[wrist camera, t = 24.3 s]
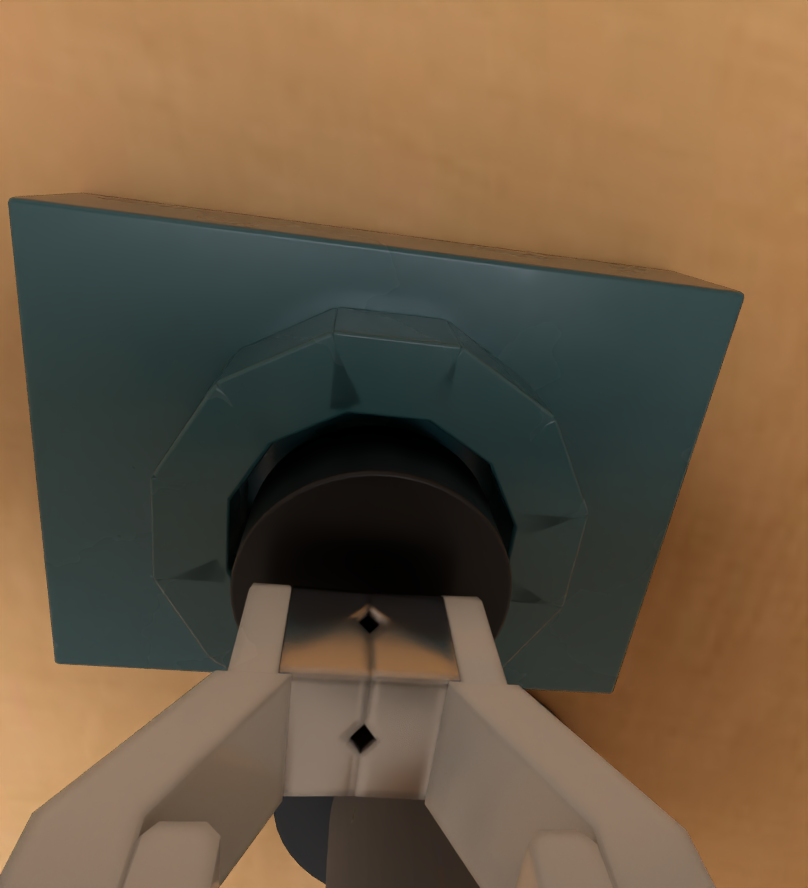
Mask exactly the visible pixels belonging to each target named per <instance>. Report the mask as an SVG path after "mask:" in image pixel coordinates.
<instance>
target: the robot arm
mask: <svg viewBox="0 0 808 888" xmlns="http://www.w3.org/2000/svg"><path fill="white" fill-rule="evenodd" d="M283 796H359V797H376V798H394V799H411V800H425V805H426V807H427V808H428V810H429V811H430V813H431V814H432V816H433V817H434V819H435V820H436V822H437V823H438V825H439V826H440V828H441V829H442V831H443V832H444V834H445V836H446V837H447V839H448V840H449V842H450V843H451V845H452V846H453V848H454V849H455V851H456V852H457V854H458V855H459V857H460V858H461V860H462V861H463V863H464V864H465V866H466V867H467V869H468V870H469V872H470V873H471V875H472V876H473V878H474V879H475V881H476V882H477V884H478V885H479V887H480V888H716V887H715V885H714V883H713V881H712V879H711V877H710V875H709V873H708V871H707V869H706V867H705V865H704V863H703V861H702V859H701V857H700V855H699V853H698V852H697V850H696V848H695V846H694V844H693V842H692V840H691V838H690V836H689V834H688V832H687V830H686V829H685V828H684V827H682V826H681V825H680V824H679V823H678V822H677V821H676V820H674V819H673V818H672V817H671V816H670V815H669V814H667V813H666V812H665V811H664V810H663V809H662V808H660V807H659V806H658V805H657V804H656V803H655V802H654V801H652V800H651V799H650V798H649V797H648V796H647V795H645V794H644V793H643V792H642V791H641V790H640V789H638V788H637V787H636V786H635V785H634V784H633V783H632V782H630V781H629V780H628V779H627V778H626V777H625V776H623V775H622V774H621V773H620V772H619V771H618V770H616V769H615V768H614V767H613V766H612V765H611V764H610V763H608V762H607V761H606V760H605V759H604V758H603V757H601V756H600V755H599V754H598V753H597V752H596V751H594V750H593V749H592V748H591V747H590V746H589V745H588V744H586V743H585V742H584V741H583V740H582V739H581V738H579V737H578V736H577V735H576V734H575V733H574V732H572V731H571V730H570V729H569V728H568V727H567V726H566V725H564V724H563V723H562V722H561V721H560V720H559V719H557V718H556V717H555V716H554V715H553V714H552V713H550V712H549V711H548V710H547V709H546V708H545V707H544V706H542V705H541V704H540V703H539V702H538V701H537V700H535V699H534V698H533V697H532V696H531V695H530V694H528V693H527V692H526V691H525V690H524V689H523V688H522V687H520V686H519V685H507V681H506V678H505V675H504V671H503V668H502V665H501V662H500V658H499V655H498V652H497V648H496V645H495V642H494V639H493V635H492V632H491V629H490V625H489V622H488V619H487V616H486V612H485V609H484V606H483V603H482V601H481V600H480V599H479V598H478V597H471V596H441V597H439V596H421V595H403V594H384V593H368V592H364V591H353V590H341V589H329V588H318V587H306V586H295V585H293V588H292V587H291V586H290V585H281V584H265V583H253V584H252V586H251V587H250V588H249V592H248V595H247V599H246V603H245V607H244V611H243V614H242V618H241V622H240V626H239V630H238V633H237V637H236V641H235V645H234V649H233V652H232V656H231V660H230V664H229V668H228V671H219V670H216V671H214V672H212V673H211V674H210V675H209V676H207V677H206V678H205V679H203V680H202V681H201V682H200V683H198V684H197V685H196V686H194V687H193V688H192V689H191V690H189V691H188V692H187V693H186V694H184V695H183V696H182V697H180V698H179V699H178V700H177V701H175V702H174V703H173V704H171V705H170V706H169V707H168V708H166V709H165V710H164V711H162V712H161V713H160V714H159V715H157V716H156V717H155V718H154V719H152V720H151V721H150V722H148V723H147V724H146V725H145V726H143V727H142V728H141V729H139V730H138V731H137V732H136V733H134V734H133V735H132V736H130V737H129V738H128V739H127V740H125V741H124V742H123V743H121V744H120V745H119V746H118V747H116V748H115V749H114V750H113V751H111V752H110V753H109V754H107V755H106V756H105V757H104V758H102V759H101V760H100V761H98V762H97V763H96V764H95V765H93V766H92V767H91V768H89V769H88V770H87V771H86V772H84V773H83V774H82V775H81V776H79V777H78V778H77V779H75V780H74V781H73V782H72V783H70V784H69V785H68V786H66V787H65V788H64V789H63V790H61V791H60V792H59V793H57V794H56V795H55V796H54V797H52V798H51V799H50V800H48V801H47V802H46V803H45V804H43V805H42V806H41V807H40V808H38V809H37V810H36V811H34V812H33V813H32V815H31V817H30V818H29V820H28V822H27V824H26V826H25V828H24V830H23V832H22V834H21V836H20V838H19V840H18V842H17V844H16V846H15V848H14V849H13V851H12V853H11V855H10V857H9V859H8V861H7V863H6V865H5V867H4V869H3V871H2V873H1V875H0V888H219V887H220V885H221V884H222V883H223V881H224V880H225V879H226V877H227V876H228V875H229V873H230V872H231V870H232V869H233V868H234V866H235V865H236V864H237V862H238V861H239V859H240V858H241V857H242V855H243V854H244V853H245V851H246V850H247V849H248V847H249V846H250V844H251V843H252V842H253V840H254V839H255V838H256V836H257V835H258V834H259V832H260V831H261V829H262V828H263V827H264V825H265V824H266V823H267V821H268V820H269V818H270V817H271V816H272V814H273V813H274V812H275V810H276V809H277V808H278V806H279V805H280V803H281V802H282V798H283Z"/></svg>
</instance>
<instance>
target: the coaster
mask: <svg viewBox="0 0 808 888" xmlns="http://www.w3.org/2000/svg"><path fill="white" fill-rule="evenodd" d="M533 698H534V697H533ZM534 699H535V698H534ZM535 700H537V699H535ZM537 701H538V700H537ZM538 702H539V701H538ZM539 703H540V704H541V705H542V706H544V707H545V708H546V709H547V710H548V711H549V712H550V713H552V712H551V711H550V710H549V709H548V708H547V707H546V706H545V705H543V704H542V703H541V702H539ZM552 714H553V713H552ZM553 715H554V714H553ZM554 716H555V715H554ZM555 717H556V716H555ZM556 718H557V717H556ZM557 719H558V718H557ZM333 798H334V796H283V798H282V802H281V803H280V805H279V806H278V808H277V809H276V810H275V812H274V817H275V822H276V827H277V830H278V832H279V835H280V837H281V840H282V842H283V844H284V845H285V847H286V849H287V850H288V852H289V853H290V855H291V856H292V857H293V858H294V859H295V860H296V862H297V863H298V864H299V865H300V866H301V867H302V868H303V869H305V870H306V871H307V872H308V873H309V874H311V875H312V876H313V877H315V878H316V879H318V880H320V881H321V882H323V883H324V884H326V869H327V852H328V836H329V821H330V813H331V807H332V802H333Z"/></svg>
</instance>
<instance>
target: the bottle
mask: <svg viewBox="0 0 808 888" xmlns="http://www.w3.org/2000/svg"><path fill="white" fill-rule="evenodd" d="M326 888H480V887H479V885H478V884H477V882H476V881H475V879H474V878H473V876H472V875H471V873H470V872H469V870H468V869H467V867H466V866H465V864H464V863H463V861H462V860H461V858H460V857H459V855H458V854H457V852H456V851H455V849H454V848H453V846H452V845H451V843H450V842H449V840H448V839H447V837H446V836H445V834H444V832H443V831H442V829H441V828H440V826H439V825H438V823H437V822H436V820H435V819H434V817H433V816H432V814H431V813H430V811H429V810H428V808H427V807H426V805H425V800H411V799H394V798H376V797H359V796H334V798H333V802H332V807H331V813H330V821H329V836H328V852H327V869H326Z"/></svg>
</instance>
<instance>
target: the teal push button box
mask: <svg viewBox="0 0 808 888" xmlns="http://www.w3.org/2000/svg"><path fill="white" fill-rule="evenodd" d="M8 206H9V216H10V226H11V236H12V245H13V255H14V265H15V275H16V284H17V294H18V304H19V314H20V324H21V333H22V343H23V353H24V363H25V373H26V382H27V392H28V402H29V412H30V421H31V431H32V441H33V451H34V461H35V470H36V480H37V490H38V500H39V510H40V519H41V529H42V539H43V549H44V558H45V568H46V578H47V588H48V598H49V607H50V617H51V627H52V637H53V646H54V656H55V662H56V663H58V664H70V665H88V666H107V667H125V668H144V669H162V670H181V671H199V672H214V671H216V670H219V671H228V668H229V664H230V660H231V656H232V652H233V649H234V645H235V641H236V637H237V633H238V627H237V624H236V622H235V619H234V616H233V611H232V606H231V599H230V582H231V573H232V568H233V565H234V561H235V558H236V554H237V551H238V548H239V545H240V542H241V539H242V536H243V533H244V530H245V527H246V524H247V521H248V518H249V515H250V511H251V508H252V505H253V502H254V499H255V497H256V495H257V493H258V490H259V488H260V486H261V485H262V483H263V481H264V480H265V478H266V477H267V475H268V474H269V473H270V471H271V470H272V469H273V468H274V467H275V466H276V464H277V463H278V462H279V461H280V460H281V459H283V458H284V457H285V456H286V455H287V454H288V453H289V452H291V451H292V450H294V449H295V448H297V447H298V446H300V445H301V444H303V443H304V442H306V441H308V440H310V439H312V438H314V437H316V436H318V435H321V434H324V433H327V432H330V431H333V430H336V429H341V428H346V427H351V426H361V425H386V426H392V427H398V428H403V429H407V430H410V431H414V432H417V433H420V434H422V435H424V436H427V437H429V438H431V439H433V440H435V441H437V442H438V443H440V444H442V445H443V446H445V447H447V448H448V449H449V450H450V451H452V452H453V453H454V454H455V455H457V456H458V457H459V458H460V459H461V460H462V461H463V462H464V463H465V464H466V466H467V467H468V468H469V469H470V470H471V472H472V473H473V475H474V476H475V477H476V479H477V480H478V482H479V484H480V486H481V488H482V490H483V492H484V495H485V497H486V500H487V502H488V505H489V508H490V510H491V513H492V515H493V518H494V520H495V523H496V525H497V528H498V531H499V533H500V536H501V538H502V541H503V543H504V546H505V549H506V552H507V555H508V558H509V561H510V568H511V574H512V594H511V600H510V606H509V609H508V613H507V616H506V619H505V622H504V624H503V626H502V628H501V631H500V633H499V635H498V637H497V638H496V640H495V641H494V642H495V645H496V648H497V652H498V655H499V658H500V662H501V665H502V668H503V671H504V675H505V678H506V681H507V685H519V686H520V687H522V688H523V689H532V690H551V691H569V692H588V693H606V694H610V693H612V692H613V690H614V687H615V684H616V681H617V678H618V675H619V672H620V669H621V666H622V663H623V660H624V657H625V654H626V651H627V648H628V645H629V642H630V639H631V636H632V633H633V630H634V627H635V624H636V621H637V618H638V615H639V612H640V609H641V606H642V603H643V600H644V597H645V594H646V591H647V588H648V585H649V582H650V579H651V576H652V573H653V570H654V567H655V564H656V561H657V558H658V555H659V552H660V549H661V546H662V543H663V540H664V537H665V534H666V531H667V528H668V525H669V522H670V519H671V516H672V513H673V510H674V507H675V504H676V501H677V498H678V495H679V492H680V489H681V486H682V483H683V480H684V477H685V474H686V471H687V468H688V465H689V462H690V459H691V456H692V453H693V450H694V447H695V444H696V441H697V438H698V435H699V432H700V429H701V426H702V423H703V420H704V417H705V414H706V411H707V408H708V405H709V402H710V399H711V396H712V393H713V390H714V387H715V384H716V381H717V378H718V375H719V372H720V369H721V366H722V363H723V360H724V357H725V354H726V351H727V348H728V345H729V342H730V339H731V336H732V333H733V330H734V327H735V324H736V321H737V318H738V315H739V312H740V309H741V306H742V303H743V300H744V294H743V293H742V292H740V291H737V290H734V289H730V288H727V287H724V286H720V285H717V284H714V283H710V282H707V281H704V280H701V279H697V278H694V277H691V276H687V275H684V274H681V273H677V272H674V271H667V270H660V269H652V268H645V267H637V266H630V265H622V264H614V263H607V262H599V261H592V260H584V259H577V258H569V257H562V256H554V255H547V254H539V253H531V252H524V251H516V250H509V249H501V248H494V247H486V246H479V245H471V244H464V243H456V242H448V241H441V240H433V239H426V238H418V237H411V236H403V235H396V234H388V233H381V232H373V231H366V230H358V229H350V228H343V227H335V226H328V225H320V224H313V223H305V222H298V221H290V220H283V219H275V218H267V217H260V216H252V215H245V214H237V213H230V212H222V211H215V210H207V209H200V208H192V207H184V206H177V205H169V204H162V203H154V202H147V201H139V200H132V199H124V198H117V197H109V196H102V195H94V194H86V193H71V194H54V195H36V196H19V197H12V198H10V199H9V202H8Z"/></svg>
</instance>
